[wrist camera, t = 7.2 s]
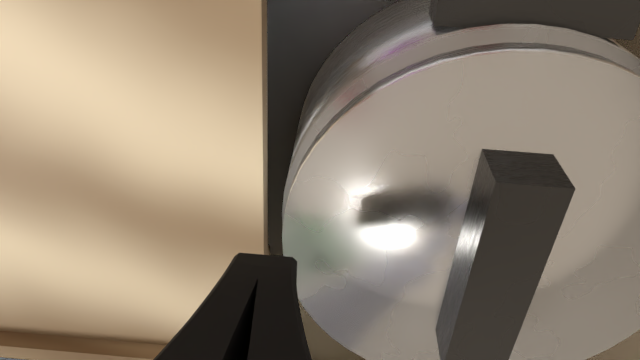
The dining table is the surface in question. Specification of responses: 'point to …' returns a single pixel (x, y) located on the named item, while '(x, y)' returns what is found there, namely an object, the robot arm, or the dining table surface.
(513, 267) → the lid
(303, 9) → the dining table surface
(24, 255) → the lid rest
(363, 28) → the cooker
